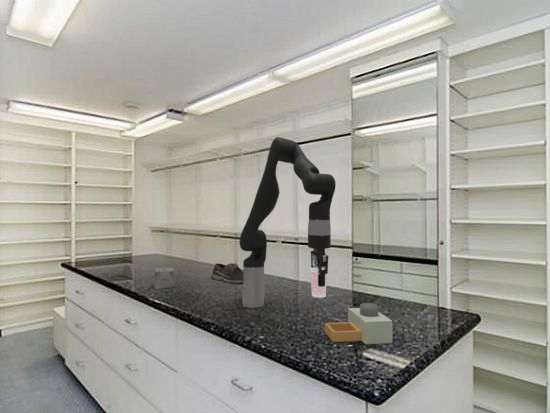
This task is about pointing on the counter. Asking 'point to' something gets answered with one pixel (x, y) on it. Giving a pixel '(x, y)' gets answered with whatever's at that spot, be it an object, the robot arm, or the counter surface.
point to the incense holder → (164, 278)
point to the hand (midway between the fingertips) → (318, 284)
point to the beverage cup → (317, 290)
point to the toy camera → (362, 326)
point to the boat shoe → (228, 273)
